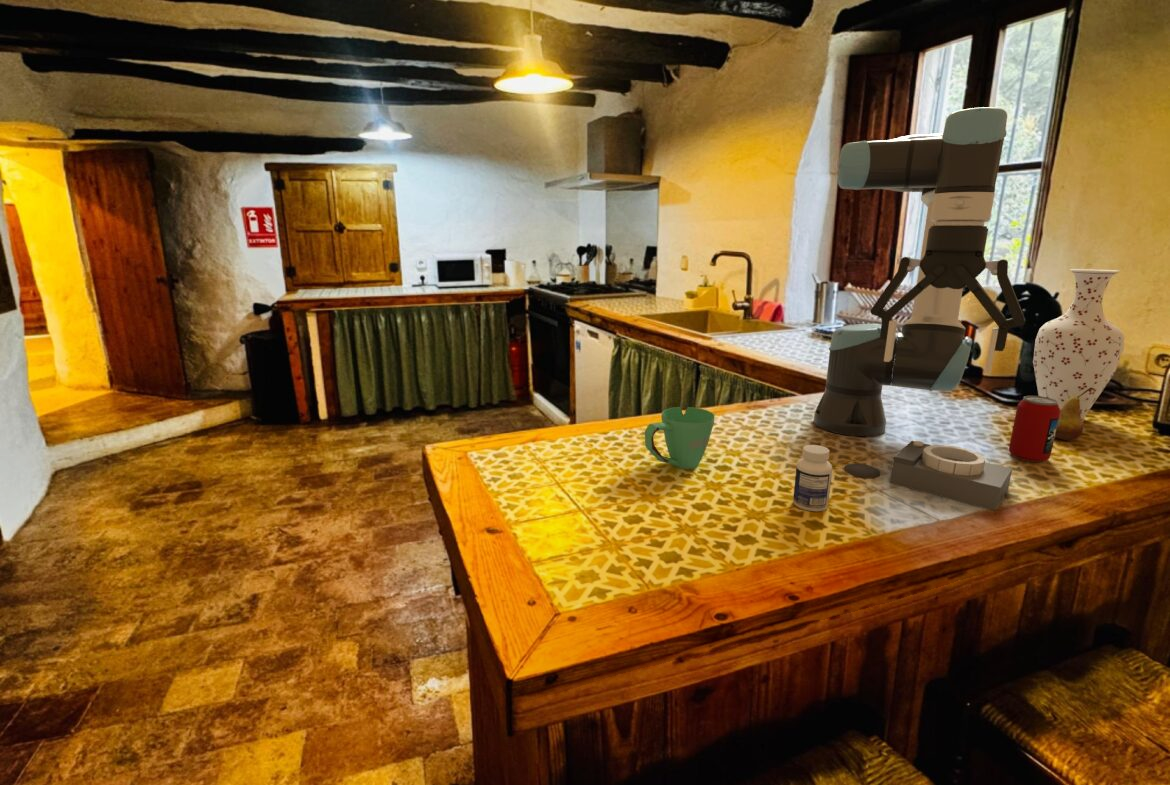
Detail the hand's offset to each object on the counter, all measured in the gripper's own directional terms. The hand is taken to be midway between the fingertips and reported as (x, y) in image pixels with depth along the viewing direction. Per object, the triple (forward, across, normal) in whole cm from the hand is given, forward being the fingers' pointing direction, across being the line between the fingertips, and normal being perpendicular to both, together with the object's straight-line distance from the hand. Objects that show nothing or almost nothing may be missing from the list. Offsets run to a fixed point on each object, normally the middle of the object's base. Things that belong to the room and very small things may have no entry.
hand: (935, 366), depth 93 cm
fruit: (+23, +22, +54) cm, 63 cm away
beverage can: (+23, +15, +36) cm, 46 cm away
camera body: (+23, +4, +11) cm, 26 cm away
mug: (+23, -39, -10) cm, 46 cm away
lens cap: (+23, -10, +9) cm, 27 cm away
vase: (+22, +22, +74) cm, 80 cm away
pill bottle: (+23, -14, -11) cm, 29 cm away
